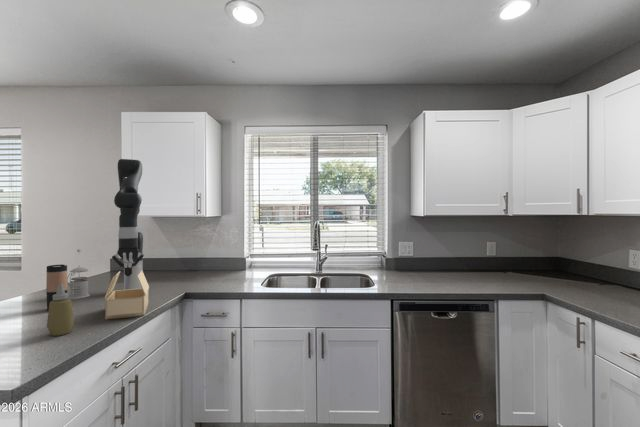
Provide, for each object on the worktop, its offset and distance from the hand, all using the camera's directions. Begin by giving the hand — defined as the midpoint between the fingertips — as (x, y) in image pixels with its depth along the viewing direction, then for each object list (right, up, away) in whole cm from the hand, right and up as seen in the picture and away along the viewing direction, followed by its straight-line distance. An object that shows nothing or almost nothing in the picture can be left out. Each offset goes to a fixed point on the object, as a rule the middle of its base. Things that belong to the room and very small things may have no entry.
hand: (128, 275), depth 152 cm
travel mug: (-35, -16, +4) cm, 39 cm away
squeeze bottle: (-9, -16, -27) cm, 33 cm away
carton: (0, -16, 0) cm, 16 cm away
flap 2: (+7, -8, +3) cm, 11 cm away
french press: (-43, -16, +28) cm, 54 cm away
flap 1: (-7, -8, -3) cm, 11 cm away
